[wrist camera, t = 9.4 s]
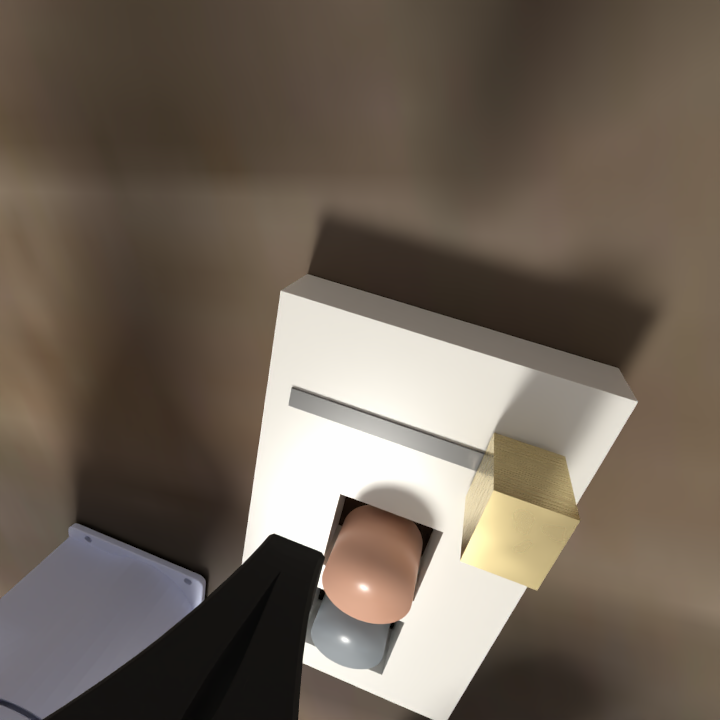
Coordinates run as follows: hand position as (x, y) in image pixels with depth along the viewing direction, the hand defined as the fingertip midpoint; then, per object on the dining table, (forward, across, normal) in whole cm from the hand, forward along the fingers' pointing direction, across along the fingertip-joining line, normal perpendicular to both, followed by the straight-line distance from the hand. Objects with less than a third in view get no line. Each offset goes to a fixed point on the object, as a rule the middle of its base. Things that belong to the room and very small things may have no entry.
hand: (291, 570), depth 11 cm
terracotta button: (+8, -2, +6) cm, 10 cm away
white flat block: (+9, -2, +6) cm, 11 cm away
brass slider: (+7, -6, 0) cm, 9 cm away
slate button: (+9, -2, +12) cm, 15 cm away
